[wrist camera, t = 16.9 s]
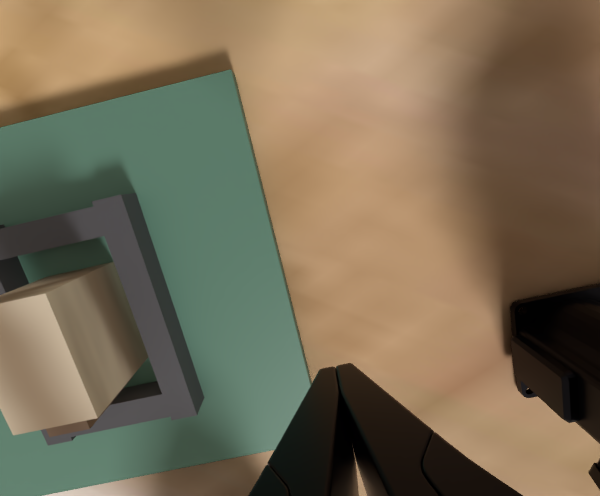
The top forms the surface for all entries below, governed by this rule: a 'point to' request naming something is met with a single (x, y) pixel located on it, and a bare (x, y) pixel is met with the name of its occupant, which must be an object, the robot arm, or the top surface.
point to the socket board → (156, 279)
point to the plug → (66, 350)
